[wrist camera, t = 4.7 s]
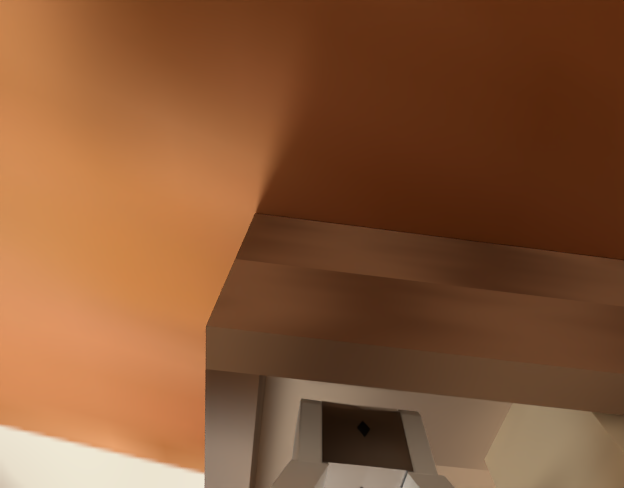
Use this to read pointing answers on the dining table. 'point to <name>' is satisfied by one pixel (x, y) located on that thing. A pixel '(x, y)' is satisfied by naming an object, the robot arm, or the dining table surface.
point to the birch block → (557, 449)
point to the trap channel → (402, 340)
